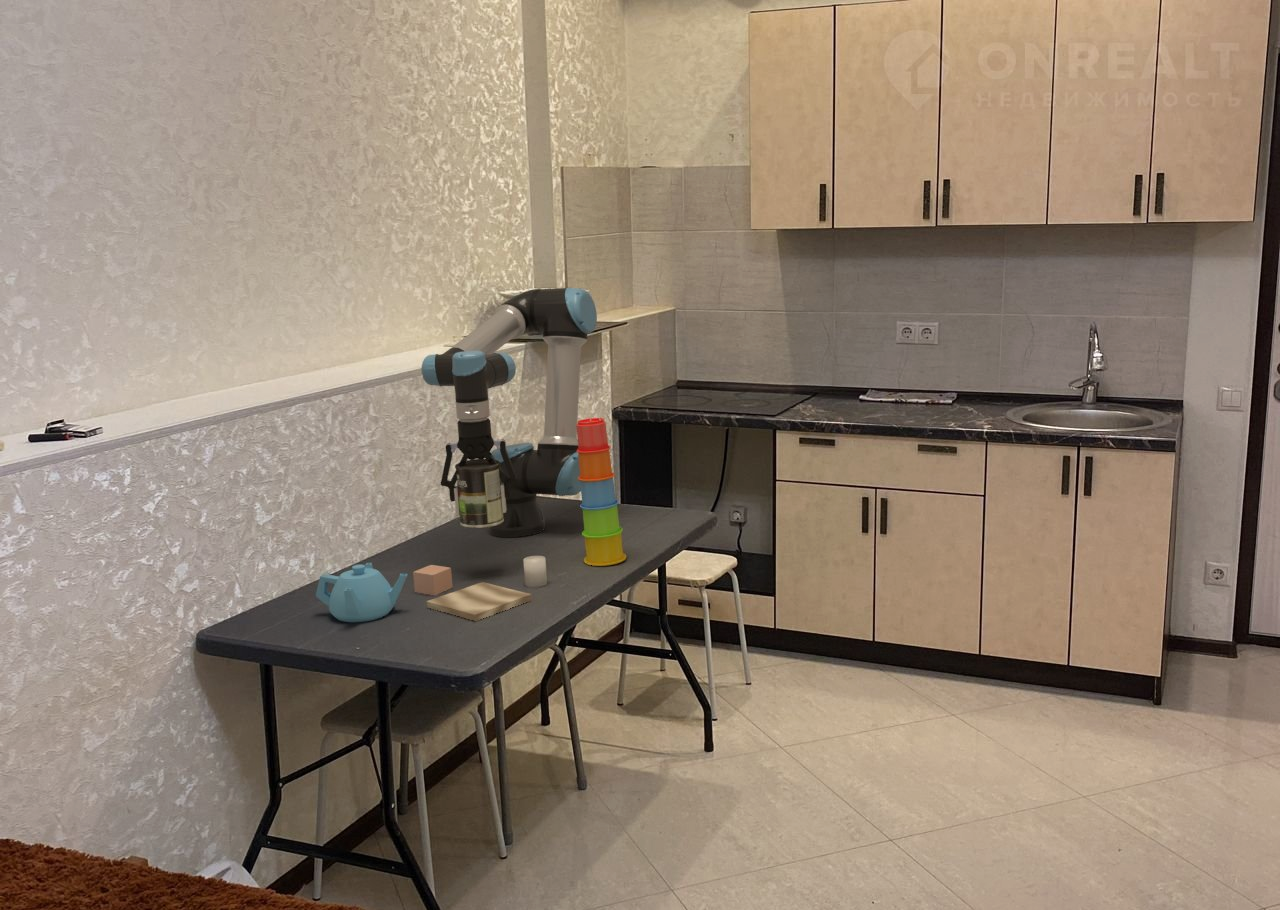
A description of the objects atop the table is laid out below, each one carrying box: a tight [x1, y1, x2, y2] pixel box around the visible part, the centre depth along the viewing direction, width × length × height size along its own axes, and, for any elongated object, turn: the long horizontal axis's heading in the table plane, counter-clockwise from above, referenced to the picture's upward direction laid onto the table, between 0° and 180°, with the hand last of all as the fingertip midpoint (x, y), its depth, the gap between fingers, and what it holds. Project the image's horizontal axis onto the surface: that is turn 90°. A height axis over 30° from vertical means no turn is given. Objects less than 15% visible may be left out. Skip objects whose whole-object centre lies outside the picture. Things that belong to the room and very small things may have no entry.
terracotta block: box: [412, 564, 453, 596], centre depth 266 cm, size 6×6×5 cm
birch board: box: [426, 581, 532, 622], centre depth 255 cm, size 16×16×2 cm
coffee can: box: [454, 458, 504, 529], centre depth 272 cm, size 10×10×14 cm
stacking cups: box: [576, 417, 627, 567], centre depth 279 cm, size 10×10×35 cm
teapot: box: [315, 562, 408, 623], centre depth 252 cm, size 15×15×11 cm
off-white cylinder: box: [522, 555, 548, 588], centre depth 267 cm, size 5×5×6 cm
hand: (481, 512), depth 273 cm, fingers closed on coffee can, 10 cm apart
